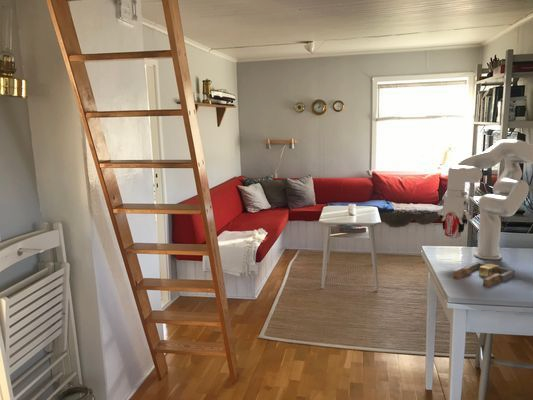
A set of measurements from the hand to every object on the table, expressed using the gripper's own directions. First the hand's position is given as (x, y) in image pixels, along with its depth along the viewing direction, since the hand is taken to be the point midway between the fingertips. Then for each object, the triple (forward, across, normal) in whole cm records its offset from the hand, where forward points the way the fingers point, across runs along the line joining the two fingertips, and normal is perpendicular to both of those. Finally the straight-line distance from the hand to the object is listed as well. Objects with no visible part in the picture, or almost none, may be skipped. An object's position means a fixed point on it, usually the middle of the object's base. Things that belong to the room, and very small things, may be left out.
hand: (452, 230), depth 210 cm
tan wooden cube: (+16, -19, +5) cm, 26 cm away
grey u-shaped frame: (+16, -19, +2) cm, 25 cm away
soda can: (+3, 0, 0) cm, 3 cm away
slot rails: (+16, -19, +14) cm, 29 cm away
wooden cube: (+16, -20, +1) cm, 25 cm away
